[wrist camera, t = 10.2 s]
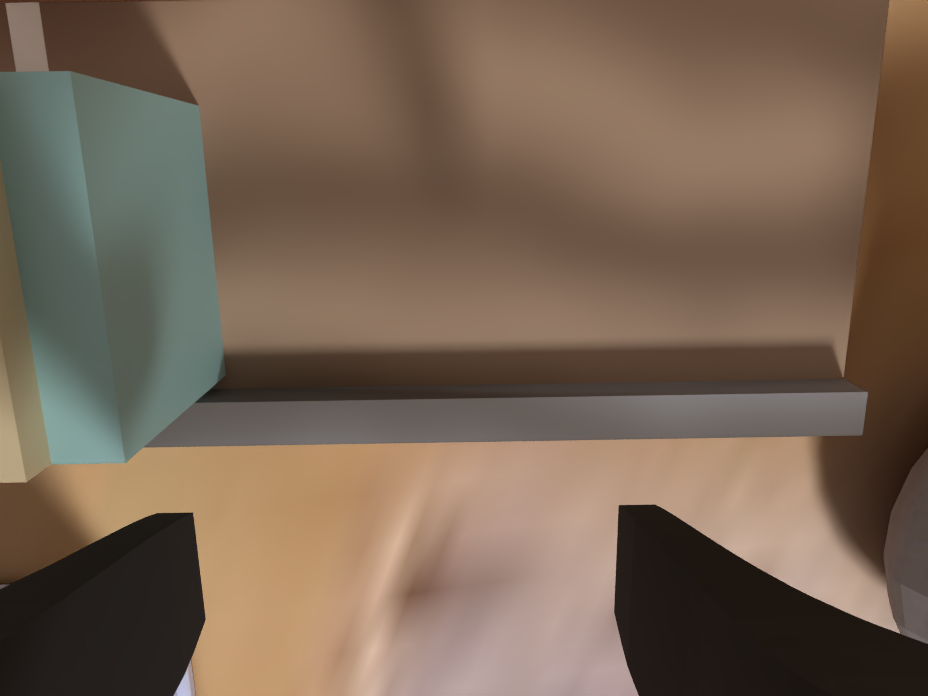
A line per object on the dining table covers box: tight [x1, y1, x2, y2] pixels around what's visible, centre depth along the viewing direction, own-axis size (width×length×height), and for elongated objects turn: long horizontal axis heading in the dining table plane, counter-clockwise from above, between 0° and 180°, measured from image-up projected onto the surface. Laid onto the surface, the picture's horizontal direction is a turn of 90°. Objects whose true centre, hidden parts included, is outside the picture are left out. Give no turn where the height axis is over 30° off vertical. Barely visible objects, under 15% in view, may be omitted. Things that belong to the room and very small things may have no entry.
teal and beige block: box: [0, 71, 226, 483], centre depth 15 cm, size 7×4×7 cm, turn 1°
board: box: [0, 0, 889, 447], centre depth 18 cm, size 11×23×3 cm, turn 91°
